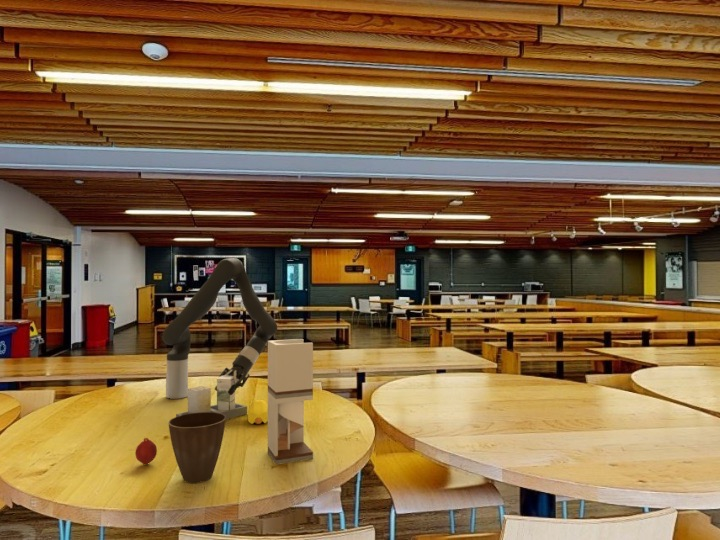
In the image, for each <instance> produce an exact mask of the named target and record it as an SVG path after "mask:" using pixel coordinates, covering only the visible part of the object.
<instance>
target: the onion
mask: <svg viewBox="0 0 720 540" xmlns="http://www.w3.org/2000/svg"><path fill="white" fill-rule="evenodd" d="M157 453H158V449H157V445H156V444H155V443H154V442H153V441H152V440H151V439H149V438H148V437H144V438H143V440H142V441H141V442H140V443H138V445H137V446H136V449H135V453H134V454H135V458H136V459H137V461H138V462H140V463H142V464H143V465H144V464H147V465H149V464H150V463H152V462H153V460H154V459H155V458H156V456H157ZM148 463H149V464H148Z"/></svg>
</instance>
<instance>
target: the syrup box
mask: <svg viewBox="0 0 720 540" xmlns="http://www.w3.org/2000/svg"><path fill="white" fill-rule="evenodd" d="M219 376H220V375H219ZM219 376H218V377H217V378H216V386H217V391H216V404H217V410H218V411H222V412H223V411H227V410H231V409H235V403H236V391H235V392H234V393H233V394H232V395H230V394H229V393H228V390H229V389H230V388H231V386H232V385H234V379H233V378H234V376H220V377H219Z"/></svg>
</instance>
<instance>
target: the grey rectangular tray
mask: <svg viewBox="0 0 720 540" xmlns="http://www.w3.org/2000/svg"><path fill="white" fill-rule="evenodd" d="M211 412H215V413H221V414H223V415H225V416H226V419H225V421H226V420H231V419H234V418H237V416H238V417H240V416H245V415H248V406H247V405H244V404H240V403H237V402H235V409H231V410H227V411H223V412H222V411H218V410H217V403H216V404H211ZM185 414H188V411H184V412H180V413H176V414H175V417H177V416H181V415H185ZM233 417H234V418H233Z"/></svg>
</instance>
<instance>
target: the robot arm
mask: <svg viewBox="0 0 720 540" xmlns="http://www.w3.org/2000/svg"><path fill="white" fill-rule="evenodd" d="M230 280H233V282H234V283H235V284H236V286H237V287H238V290H239V292H240V293H239V294H240V297H241V301H242V304H243V306H244V308H245V310H246V312H247V314H248V315H249V317H250V318H251V320H253V321H255V322H257V324H258V325H259V326H258V328H257V329H256V330H255V331H254V334H253V335H252V337H251V338H250V339H249V341H248V342H247V343H246V345H245V346H244V347H243V349H242V350H241V351H240V352H239V353H238V354H237V356H236V357H235V359H234V360H233V361H232V367H231V368H228V367H225V368H224V370H223V371H222V372H221V373H220V374H219V376H218V377H220V376H234V378H233V379H234V385H232V386H231V388H230V389H229V390H228V393H229V394H230V395H232V394H233V393H234V392H235V393H236V390H237V389H238V388H243V387H244V386H245V384H246V382H247V380H248V379H249V378H250V377H251V376H250V375H251V374H249V372H250V371H251V369H252V368H253V367H254V365H255V363H256V361H257V360H258V358H259V356H260V355H261V353H262V352H263V350H264V349H265V347H266V345H267V344H268V341H270V339H271V338H272V337H273V336H274V335H275V334H277V332H278V324H277V322H276V320H275V319H274V318H273V317H272V316H271V314H270V312H269V313H268V311H267V310H266V309H265V307H264V305H263V304H262V302H261V300H260V299H259V297H258V294H257V293H256V291H255V289H254V288H253V285H252V283H251V281H250V278H249V276H248V274H247V270H246V268H245V266H244V264H243V262H242V261H241V260H240V259H238V258H236V257H232V258H231V257H230V258H229V257H228V258H224V259H221V260H220V261H219V262H218V263H217V264H216V266H215V268H214V269H213V270H212V273H211V274H210V275H209V277H208V278H207V280H206V281H205V282H204V283H203V285H202V286H200V288H199V289H198V290H197V292H195V294H194V295H193V296H192V297H191V299H190V300H189V301H188V303H186V305H185V306H184V308H183V309H182V310H181V312H180V313H179V314H178V315H177V316H176V317H175V318H174V319H173V320H172V321H171V322H169V324H168V325H167V326H166V327H165V328H164V330H163V332H162V341H163V342H164V344H166V345H167V346H173V347H172V348H171V350H170V351H169V352H167V354H166V376H165V397H166V399H169V398H170V399H171V400H176V399H177V400H178V399H183V398H184V399H185V398H188V389H189V355H190V352H191V340H192V339H191V338H192V335H191V329H190V328H189V327H190V326H191V325H192V324H194V323H195V322H197V321H199V320H200V319H202V318H203V317H204V316H205V315H207V313H208V312H209V311H210V310H211V309H212V307H213V306H214V305H215V303H216V301H217V299H218V295H219V292H220V291H221V289H222V288H223V287H225V285H226V284H227V283H228V282H229V281H230ZM214 390H215V391H216V392H217V385H216V386H215V387H214Z"/></svg>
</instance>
